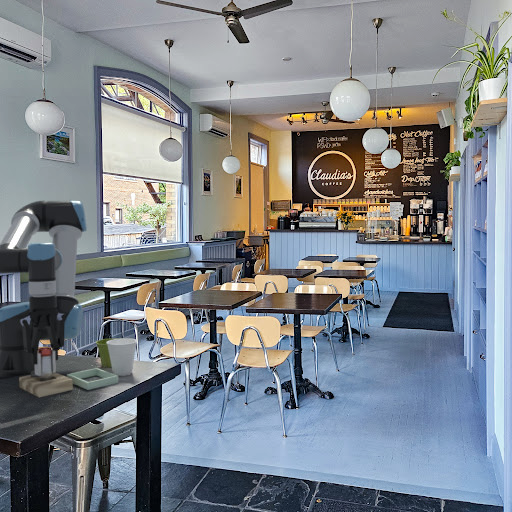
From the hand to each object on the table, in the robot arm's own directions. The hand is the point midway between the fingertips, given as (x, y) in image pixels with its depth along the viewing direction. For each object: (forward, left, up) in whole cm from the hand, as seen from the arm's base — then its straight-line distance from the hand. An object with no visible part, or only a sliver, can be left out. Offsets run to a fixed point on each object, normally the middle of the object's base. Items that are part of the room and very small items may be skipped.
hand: (45, 373), depth 162 cm
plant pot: (-13, +29, -6) cm, 32 cm away
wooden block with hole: (0, 0, -6) cm, 6 cm away
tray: (+4, +13, -6) cm, 15 cm away
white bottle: (0, 0, -5) cm, 5 cm away
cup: (0, +26, -6) cm, 27 cm away
